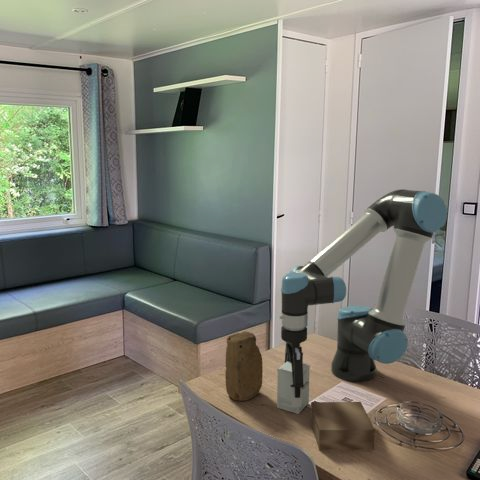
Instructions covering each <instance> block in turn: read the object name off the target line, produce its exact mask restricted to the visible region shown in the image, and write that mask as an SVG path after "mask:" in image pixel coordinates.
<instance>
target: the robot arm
mask: <svg viewBox="0 0 480 480" xmlns="http://www.w3.org/2000/svg"><path fill="white" fill-rule="evenodd" d="M447 208H448V207H447V205H446V204H445V201H444V199H443V198H442V197H441V196H440V195H438V193H437V194H436V193H433V192H429V191H425V190H409V189H395V190H393V191H390V192H388V193H386V194H384V195H383V196H381V197H380V198H378V199H377V200H375V201H374V202H373V203H372V204H371V205H370V206H368V207H367V208H366V209H365V210H364V214H363V215H362V216H361V217H359V219H357V221H355V222H354V223H353V224H352V225H351V226H350V227H348V228H347V229H345V231H344V232H343V233H340V235H339V236H338V237H336V238H335V239H334V240H333V241H332V242H331V243H330V244H328V245H327V246H325V247H324V249H322V250H321V251H320V252H319V253H317V254H316V255H314V257H313V258H312V259H310V261H308V262H307V263H305V264H304V265H297V266H295V267H293V268H292V269H291V270H290V271H289V273H286V274H284V275H283V276H282V280H281V289H280V292H281V315H279V320H281V329H280V330H281V331H280V337H281V340H282V341H284V342H285V349H284V351H285V352H284V363H286V362H287V361H290V362H291V365H292V378H293V385H290V386H291V387H292V407H301V403H302V388H303V387H304V384H303V364H304V362H303V361H304V360H303V357H304V353H303V347H302V346H301V344H302V343H304V342H306V341H307V339H308V327H307V326H308V318H309V317H308V316H309V314H308V313H309V312H308V311H309V310H308V308H309V306H317V305H326V304H334V303H339V302H342V301H344V300H345V299H346V295H347V286H346V283H345V281H344V278H342V277H339V276H330V275H331V274H333V273H334V272H335V271H336V270H338V268H339V267H341V266H342V265H343V264H344V263H345V262H346V261H348V260H349V259H350V258H351V257H353V256H354V254H356V253H357V252H358V251H360V249H361V248H363V247H364V246H365V245H366V244H368V243H369V242H370V241H371V240H372V239H374V238H375V237H376V236H377V235H378V234H379V233H384V232H387V231H388V229H391V228H393V232H394V233H395V235H396V237H395V240H394V243H393V246H392V251H391V254H390V256H389V260H388V264H387V266H386V270H385V273H384V275H383V276H384V277H383V281H382V283H381V287H380V290H379V293H378V297H377V300H376V303H375V307H374V308H372V307H370V306H365V305H349V306H344V307H342V308H340V309H339V310H338V314H337V343H336V346H337V347H336V351H335V354H334V356H333V358H332V361H331V366H330V367H331V369H330V370H331V373H332V374H333V375H334V376H336V377H337V378H340V379H342V380H346V381H350V382H366V381H370V380H373V379H374V378H375V377H376V376H377V366H376V365H377V364H376V362H378V363H380V364H384V365H388V364H393V363H395V362H397V361H398V360H400V359H401V358H402V357H403V356H404V355H405V353H406V351H407V349H408V347H409V340H408V337H407V334H406V333H405V331H404V330H405V327H406V322H405V320H404V318H403V316H404V313H405V309H406V306H407V303H408V299H409V296H410V293H411V289H412V286H413V283H414V280H415V276H416V274H417V270H418V267H419V264H420V260H421V257H422V253H423V250H424V247H425V244H427V242H429V241H431V240H432V239H433V235H434V233H436V232H438V231H440V230H441V229H442V228H443V227H444V226H445V224H446V223H447V222H446V221H447V218H448V209H447Z"/></svg>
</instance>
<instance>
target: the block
mask: <svg viewBox="0 0 480 480" xmlns="http://www.w3.org/2000/svg"><path fill="white" fill-rule="evenodd" d="M226 344H227V345H226V350H225V372H224V373H225V375H224V376H225V388H226V393H227V394H228V396H229V397H230V398H231V399H232V400H233V401H238V402H239V401H240V402H241V401H243V402H244V401H248V400H251V399H252V398H254V397H256V396H257V395H259V392H260V390H261V388H262V387H263V371H264V370H263V366H264V365H263V355H262V353H261V351H260V348H259V346H258V345H257V337H256V335H255V334H254V333H253V332H250V331H242V332H236V333H233V334H231V335H228V336H227V338H226Z"/></svg>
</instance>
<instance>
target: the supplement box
mask: <svg viewBox="0 0 480 480" xmlns="http://www.w3.org/2000/svg"><path fill="white" fill-rule="evenodd" d="M310 366H311V365H310V364H307V363H303V384H304V387H303V388H302V403H301V407H292V387H291V386H290V385H293V378H292V365H291V362H290V361H287V362H286V363H285V362H284V363H283V364H282V365H280V366H279V367H278V368H277V386H276V387H277V391H276V393H277V396H276V398H277V401H276V402H277V403H276V405H277V406H276V408H278V409H280V410H284V411H287V412H290V413H294V414H297V415H299V414H301V412H302V410H303V409H305V408H306V406H308V404H309V402H310V401H309V400H310V398H309V397H310V368H311V367H310Z"/></svg>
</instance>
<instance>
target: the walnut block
mask: <svg viewBox="0 0 480 480" xmlns="http://www.w3.org/2000/svg"><path fill="white" fill-rule="evenodd" d="M310 403H311V404H310V422H311V427H312V430H313V434H314V437H315V441H316V444H317V448H318V451H375V431H376V429H375V427H374V425H373V423H372V421H371V419H370V417H369V416H368V413H367V411H366V409H365V407H364V406H363V403H362V401H322V402H321V401H318V402H316V401H315V402H314V401H312V402H310Z"/></svg>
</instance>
